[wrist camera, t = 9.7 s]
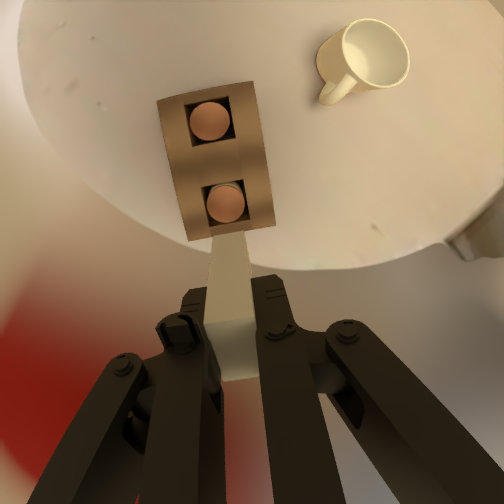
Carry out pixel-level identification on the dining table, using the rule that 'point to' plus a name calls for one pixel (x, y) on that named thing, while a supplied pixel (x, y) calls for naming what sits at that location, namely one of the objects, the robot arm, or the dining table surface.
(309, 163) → the dining table surface
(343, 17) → the dining table surface
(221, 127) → the peg near
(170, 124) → the socket block
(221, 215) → the peg far
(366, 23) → the mug
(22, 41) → the dining table surface
